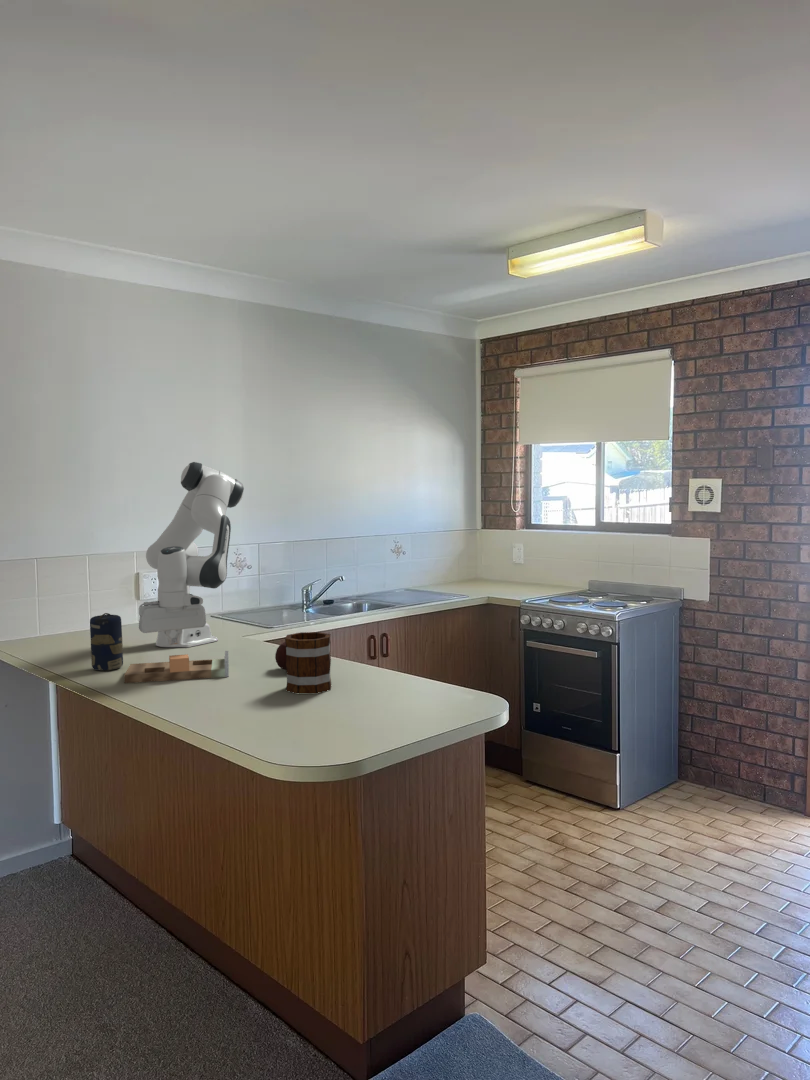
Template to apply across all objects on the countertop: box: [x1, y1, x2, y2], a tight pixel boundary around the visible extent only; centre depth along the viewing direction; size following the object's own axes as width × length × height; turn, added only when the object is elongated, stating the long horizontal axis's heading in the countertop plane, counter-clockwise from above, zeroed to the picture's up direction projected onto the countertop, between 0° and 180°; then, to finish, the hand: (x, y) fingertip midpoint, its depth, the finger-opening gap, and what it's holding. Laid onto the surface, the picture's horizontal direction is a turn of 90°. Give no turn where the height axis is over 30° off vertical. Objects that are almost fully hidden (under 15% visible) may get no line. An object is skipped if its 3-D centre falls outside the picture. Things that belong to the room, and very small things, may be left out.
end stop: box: [224, 650, 230, 678], centre depth 247 cm, size 1×15×5 cm, turn 12°
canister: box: [89, 612, 124, 671], centre depth 252 cm, size 10×10×18 cm
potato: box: [274, 641, 286, 671], centre depth 247 cm, size 9×12×9 cm
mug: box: [284, 631, 332, 694], centre depth 227 cm, size 20×14×15 cm
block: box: [168, 653, 190, 673], centre depth 239 cm, size 6×6×4 cm
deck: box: [123, 658, 226, 684], centre depth 243 cm, size 29×15×2 cm, turn 102°
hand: (173, 644), depth 243 cm, fingers closed
